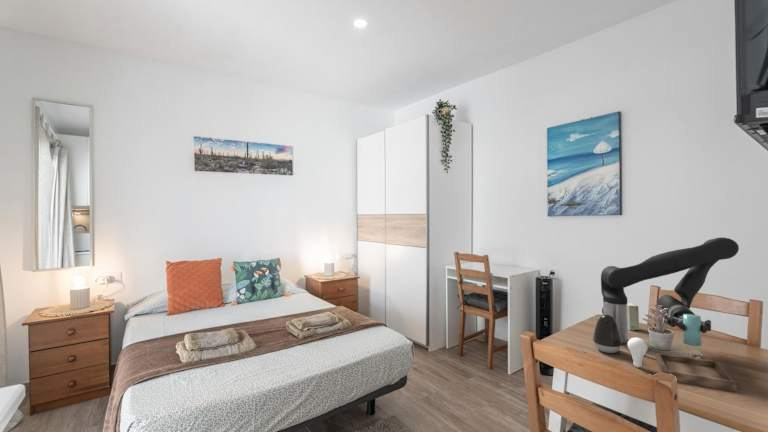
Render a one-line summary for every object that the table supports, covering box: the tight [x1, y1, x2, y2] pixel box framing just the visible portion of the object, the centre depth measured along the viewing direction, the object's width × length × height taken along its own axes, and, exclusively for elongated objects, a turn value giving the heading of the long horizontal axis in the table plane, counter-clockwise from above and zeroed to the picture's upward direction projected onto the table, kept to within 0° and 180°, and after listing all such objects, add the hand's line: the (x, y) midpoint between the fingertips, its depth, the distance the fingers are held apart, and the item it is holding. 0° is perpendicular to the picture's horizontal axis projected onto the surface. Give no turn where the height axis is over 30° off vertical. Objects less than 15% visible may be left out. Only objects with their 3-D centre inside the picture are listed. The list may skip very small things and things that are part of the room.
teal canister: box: [682, 314, 702, 347], centre depth 124 cm, size 5×5×10 cm
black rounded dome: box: [592, 314, 623, 354], centre depth 146 cm, size 10×10×15 cm
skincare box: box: [627, 302, 640, 331], centre depth 174 cm, size 6×4×12 cm
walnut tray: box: [655, 352, 737, 393], centre depth 124 cm, size 18×18×3 cm
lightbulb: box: [627, 337, 649, 369], centre depth 130 cm, size 6×6×11 cm
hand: (694, 329), depth 122 cm, fingers closed on teal canister, 4 cm apart
